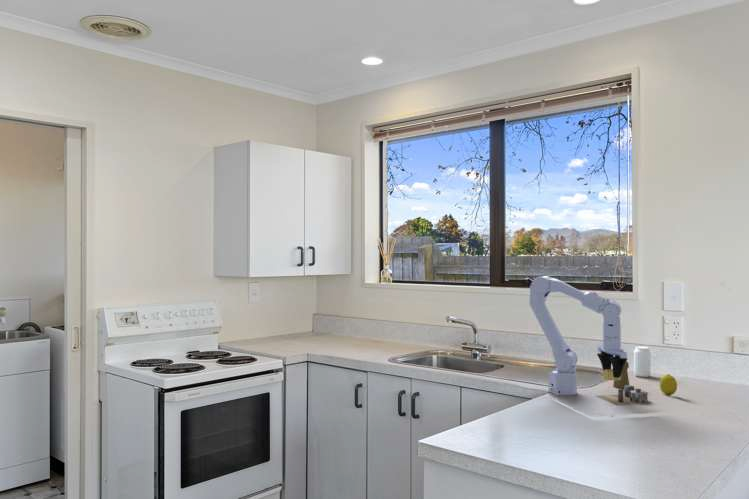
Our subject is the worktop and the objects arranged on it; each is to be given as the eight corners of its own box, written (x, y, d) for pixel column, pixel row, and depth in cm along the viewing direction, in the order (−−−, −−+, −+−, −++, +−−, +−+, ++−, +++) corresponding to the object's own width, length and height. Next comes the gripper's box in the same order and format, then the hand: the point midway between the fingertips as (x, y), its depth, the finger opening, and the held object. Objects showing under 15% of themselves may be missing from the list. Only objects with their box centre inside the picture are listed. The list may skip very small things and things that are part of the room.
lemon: (673, 394, 216) (673, 372, 216) (679, 398, 210) (679, 375, 210) (657, 394, 216) (657, 372, 216) (663, 398, 211) (663, 375, 211)
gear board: (616, 408, 198) (616, 393, 198) (595, 398, 211) (595, 384, 211) (653, 405, 201) (653, 390, 201) (629, 396, 214) (629, 382, 214)
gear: (609, 380, 206) (609, 372, 206) (600, 377, 211) (600, 369, 211) (624, 380, 207) (623, 371, 207) (614, 377, 212) (614, 368, 212)
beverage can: (633, 374, 251) (633, 345, 251) (649, 375, 249) (649, 346, 249) (635, 377, 245) (634, 348, 245) (651, 378, 243) (651, 348, 243)
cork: (632, 391, 221) (632, 361, 221) (616, 391, 221) (616, 361, 221) (626, 387, 227) (626, 358, 227) (610, 387, 227) (610, 358, 227)
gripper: (634, 339, 203) (635, 379, 203) (610, 333, 217) (610, 370, 217) (616, 339, 201) (616, 380, 201) (592, 333, 216) (592, 371, 216)
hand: (612, 375), depth 209 cm, fingers closed on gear, 5 cm apart
